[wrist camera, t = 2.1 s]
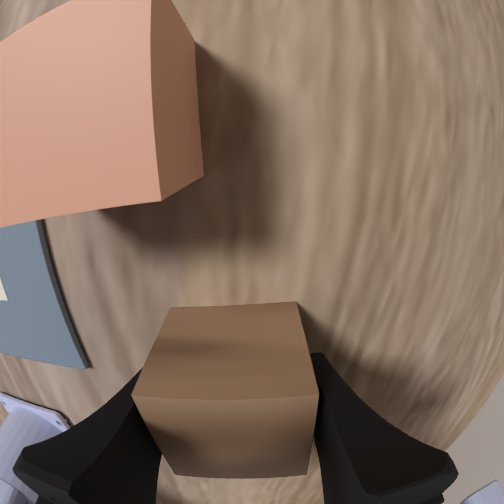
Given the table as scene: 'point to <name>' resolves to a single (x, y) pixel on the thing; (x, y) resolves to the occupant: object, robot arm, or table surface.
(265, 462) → the walnut block
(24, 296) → the plate
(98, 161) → the terracotta block
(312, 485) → the table surface
